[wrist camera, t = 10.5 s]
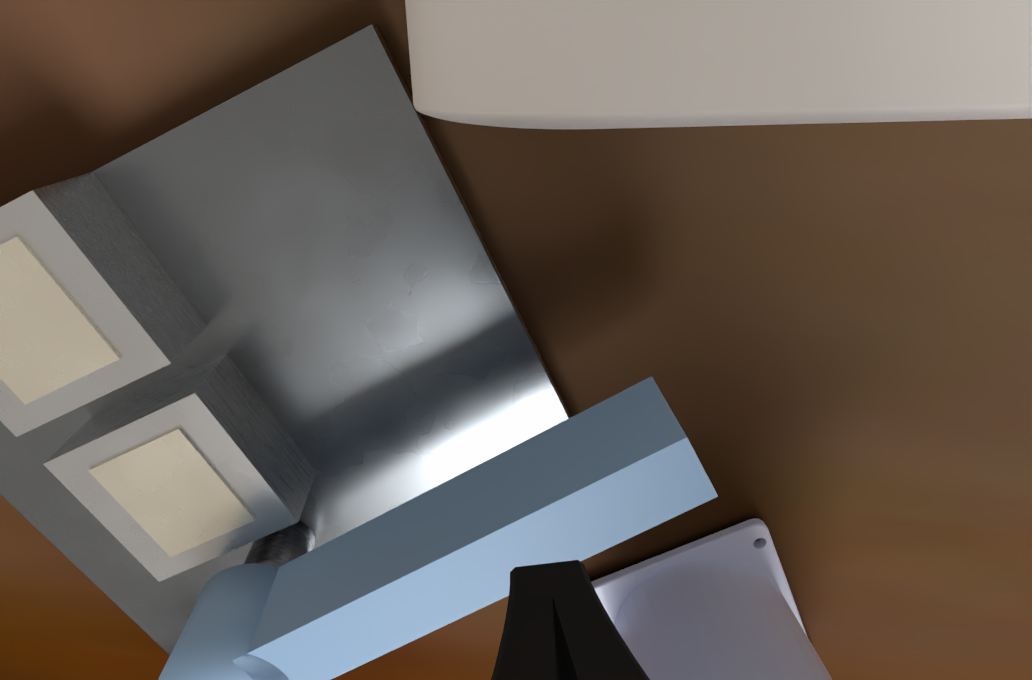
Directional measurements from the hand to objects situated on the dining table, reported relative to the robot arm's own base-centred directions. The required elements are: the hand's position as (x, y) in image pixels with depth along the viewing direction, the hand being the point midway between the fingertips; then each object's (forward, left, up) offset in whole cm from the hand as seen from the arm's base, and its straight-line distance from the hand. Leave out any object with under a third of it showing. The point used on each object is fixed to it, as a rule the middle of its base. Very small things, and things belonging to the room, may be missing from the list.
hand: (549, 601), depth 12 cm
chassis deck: (+2, +8, -10) cm, 13 cm away
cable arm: (-2, +4, -6) cm, 7 cm away
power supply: (+2, +10, -10) cm, 14 cm away
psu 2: (+8, +10, -10) cm, 16 cm away
